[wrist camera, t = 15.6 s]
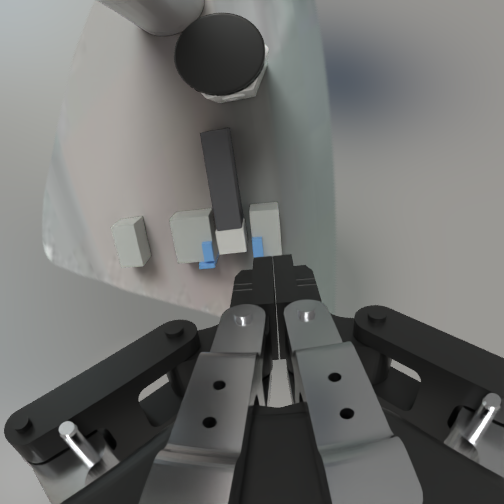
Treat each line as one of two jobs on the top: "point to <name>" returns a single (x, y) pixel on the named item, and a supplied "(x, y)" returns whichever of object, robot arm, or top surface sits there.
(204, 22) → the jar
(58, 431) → the robot arm
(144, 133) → the top surface
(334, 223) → the top surface
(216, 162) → the tall dark pillar
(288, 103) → the top surface
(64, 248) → the top surface
